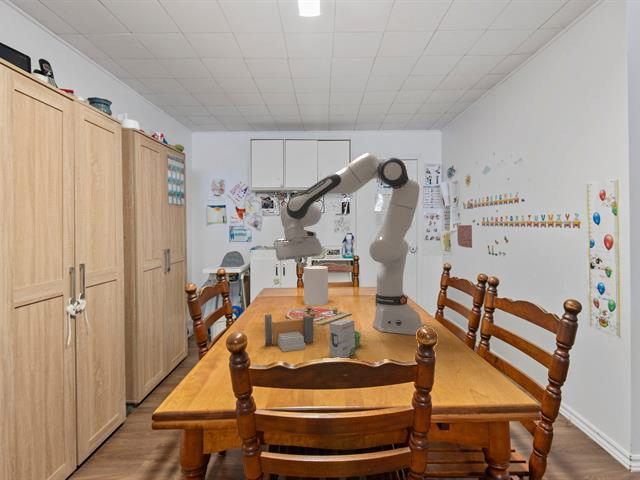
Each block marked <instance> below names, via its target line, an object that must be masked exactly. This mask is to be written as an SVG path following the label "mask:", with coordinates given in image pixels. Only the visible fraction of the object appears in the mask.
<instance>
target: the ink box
mask: <svg viewBox="0 0 640 480" xmlns="http://www.w3.org/2000/svg"><path fill="white" fill-rule="evenodd" d="M328 325H329V330H328V331H329V358H331V357H340V358H346V359H348V358H349V357H352V356H353V355H355V354H356V348H355V331H356V330H355V328H356V327H355V320H353V319H347V318H342V319H340V320H337V321H334V322H332V323H329V324H328Z"/></svg>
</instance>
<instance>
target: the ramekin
mask: <svg viewBox="0 0 640 480" xmlns="http://www.w3.org/2000/svg"><path fill="white" fill-rule="evenodd" d="M361 336H362V333H361V332H360V331H358V330H355V349H356V348H358V347H359V346H360V344H361V343H360V342H361Z"/></svg>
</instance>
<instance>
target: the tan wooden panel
mask: <svg viewBox="0 0 640 480" xmlns="http://www.w3.org/2000/svg"><path fill="white" fill-rule="evenodd" d="M295 331H299V333H300V334H302V336H304V319H294V320H291V319H287V320H275V321H272V345H278V333H286V332H295Z"/></svg>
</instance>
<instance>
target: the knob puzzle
mask: <svg viewBox="0 0 640 480" xmlns="http://www.w3.org/2000/svg"><path fill="white" fill-rule="evenodd" d="M352 315H353V314H352V312H348V311H343V310H342V311H341V310H339V308H338V307H332V308H331V307H312V305H306V306H305V307H299V308H298V307H297V308H289V309H288V310H287V311H286V312H285V318H286V319H287V320H294V319H303V316H312V317H313V325H318V326H325V325H329V324H330V323H332V322H335V321H339V320H342V319H346V318H347V317H351V316H352Z"/></svg>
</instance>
